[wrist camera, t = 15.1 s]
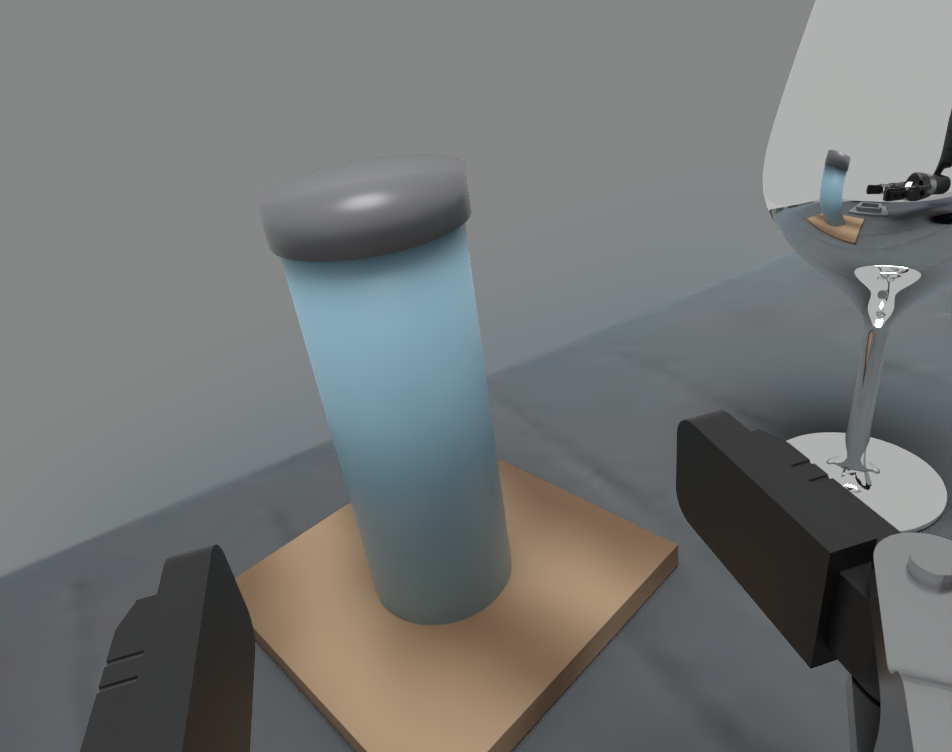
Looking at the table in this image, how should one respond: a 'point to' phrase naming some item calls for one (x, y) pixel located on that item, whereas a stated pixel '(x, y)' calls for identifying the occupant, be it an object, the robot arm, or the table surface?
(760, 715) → the table surface
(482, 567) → the filter cartridge
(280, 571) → the light brown wooden board
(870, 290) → the wineglass
